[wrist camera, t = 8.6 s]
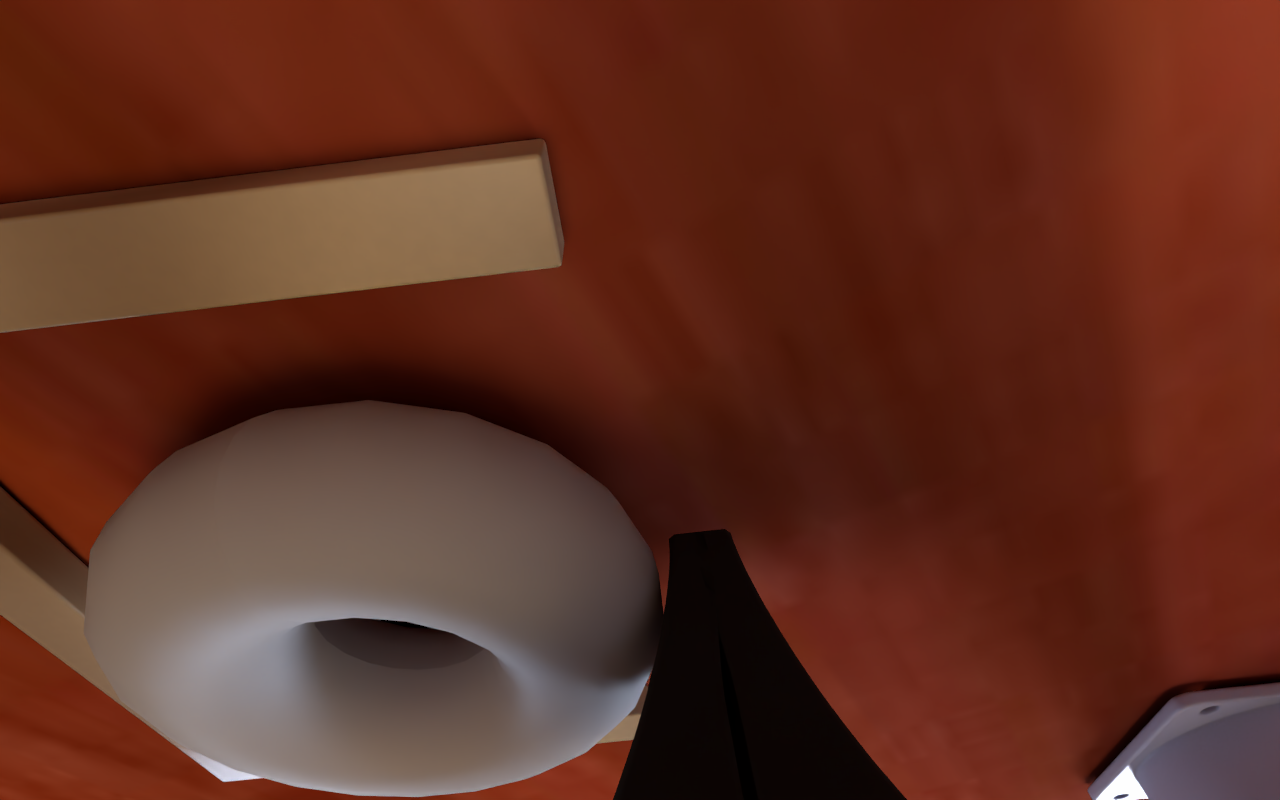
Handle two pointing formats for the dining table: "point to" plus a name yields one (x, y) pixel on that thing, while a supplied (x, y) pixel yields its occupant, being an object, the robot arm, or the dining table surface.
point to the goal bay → (250, 293)
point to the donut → (375, 601)
